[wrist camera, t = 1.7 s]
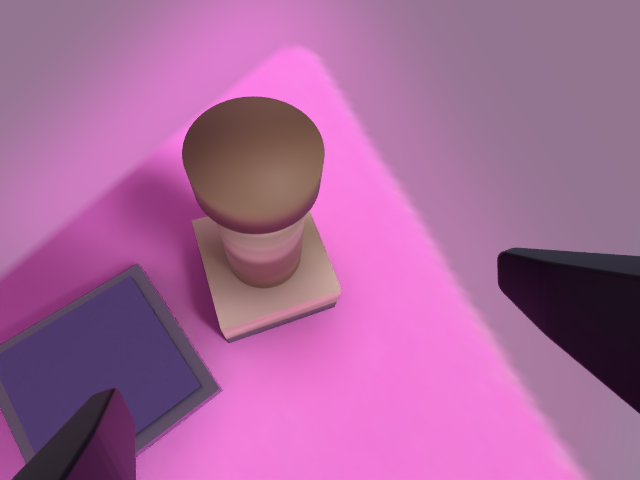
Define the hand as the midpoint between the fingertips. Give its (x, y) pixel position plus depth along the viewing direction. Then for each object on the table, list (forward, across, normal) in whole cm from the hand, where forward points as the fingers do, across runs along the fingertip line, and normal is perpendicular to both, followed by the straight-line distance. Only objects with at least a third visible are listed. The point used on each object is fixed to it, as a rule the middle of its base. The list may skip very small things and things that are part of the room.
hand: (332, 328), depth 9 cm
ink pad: (+12, +9, +6) cm, 16 cm away
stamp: (+13, 0, +4) cm, 14 cm away
